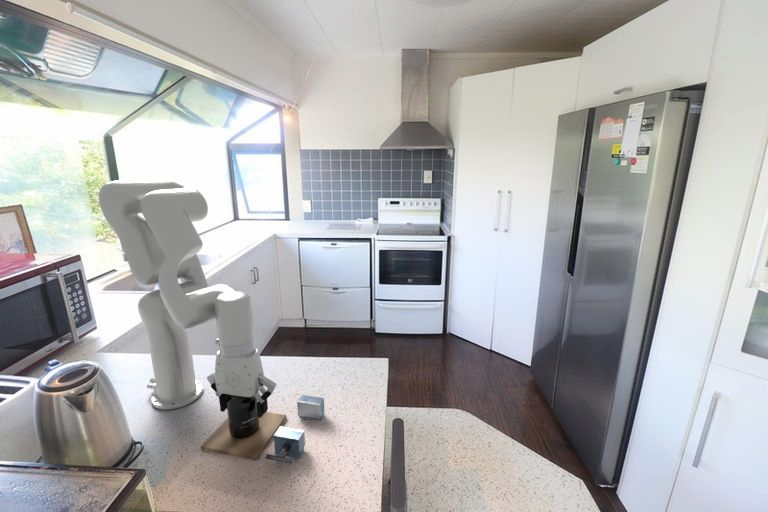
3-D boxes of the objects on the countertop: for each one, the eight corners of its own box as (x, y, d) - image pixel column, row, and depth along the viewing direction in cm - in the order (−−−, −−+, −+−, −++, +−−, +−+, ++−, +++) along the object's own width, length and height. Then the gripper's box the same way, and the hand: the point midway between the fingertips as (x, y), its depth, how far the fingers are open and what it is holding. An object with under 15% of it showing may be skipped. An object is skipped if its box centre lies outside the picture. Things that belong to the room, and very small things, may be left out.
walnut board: (201, 450, 83) (200, 446, 82) (237, 410, 96) (237, 407, 96) (256, 460, 80) (256, 456, 80) (286, 418, 93) (286, 415, 93)
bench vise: (266, 468, 78) (264, 448, 77) (303, 411, 96) (302, 394, 95) (291, 473, 77) (290, 453, 75) (324, 414, 95) (323, 398, 93)
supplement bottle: (250, 442, 84) (245, 396, 81) (223, 437, 85) (218, 393, 82) (265, 421, 90) (261, 379, 87) (240, 418, 92) (235, 376, 89)
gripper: (192, 349, 80) (201, 416, 85) (263, 358, 77) (269, 427, 81) (214, 334, 87) (221, 396, 92) (280, 342, 84) (284, 406, 88)
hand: (244, 410), depth 86 cm, fingers open, 9 cm apart
